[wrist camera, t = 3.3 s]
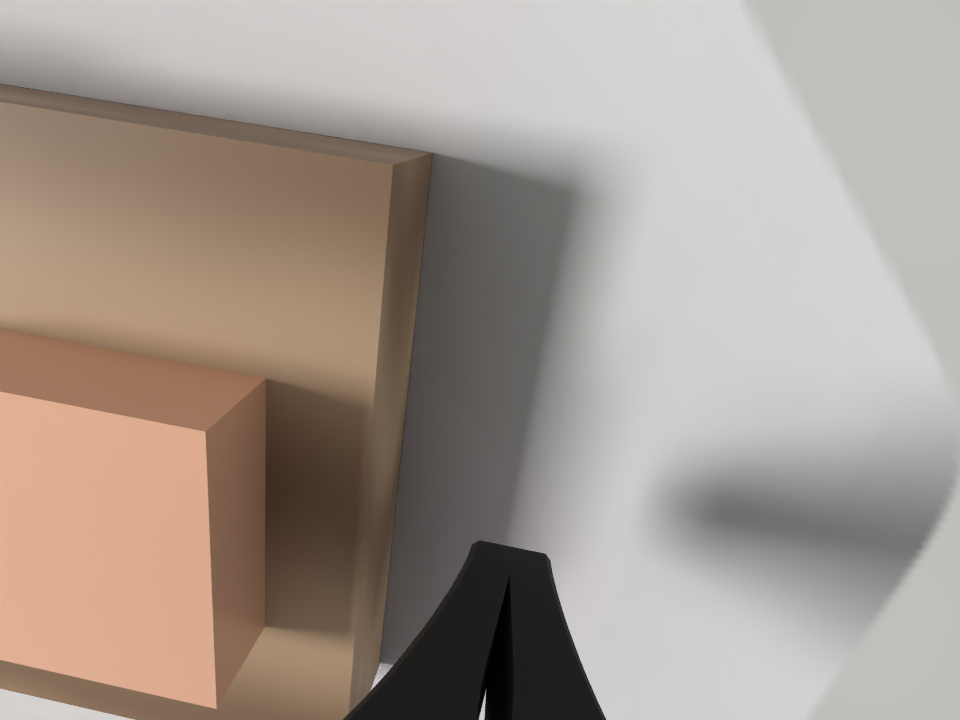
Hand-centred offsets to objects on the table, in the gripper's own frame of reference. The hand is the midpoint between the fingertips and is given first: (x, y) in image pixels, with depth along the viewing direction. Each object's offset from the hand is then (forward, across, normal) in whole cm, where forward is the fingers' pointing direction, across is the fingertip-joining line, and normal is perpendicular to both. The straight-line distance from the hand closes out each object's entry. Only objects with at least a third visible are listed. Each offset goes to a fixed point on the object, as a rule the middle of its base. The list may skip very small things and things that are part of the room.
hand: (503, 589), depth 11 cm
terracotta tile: (+1, +8, 0) cm, 8 cm away
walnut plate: (+4, +9, 0) cm, 10 cm away
